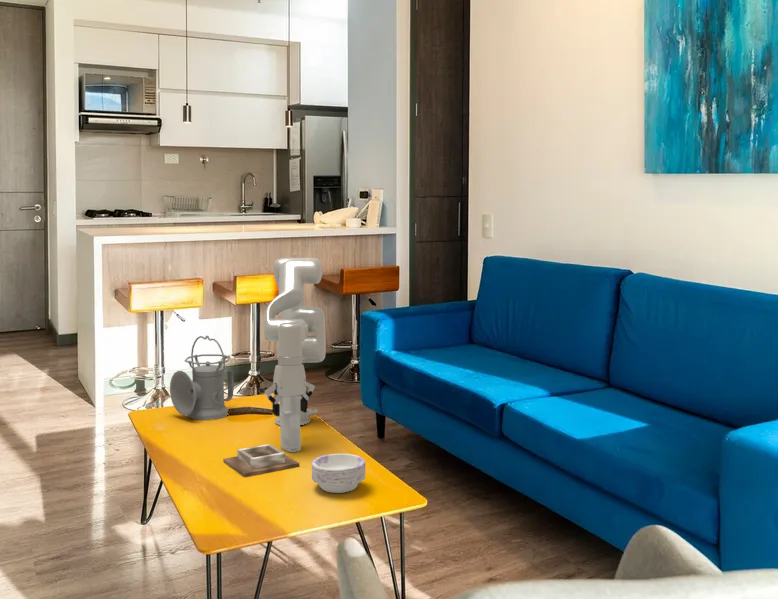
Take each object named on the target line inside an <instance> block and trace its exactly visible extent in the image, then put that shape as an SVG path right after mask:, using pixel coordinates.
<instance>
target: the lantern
mask: <svg viewBox="0 0 778 599" xmlns="http://www.w3.org/2000/svg"><path fill="white" fill-rule="evenodd" d="M199 339H203V340H208V341H214V342H215V343H216V344H217V346H218V348H219V350H220V353H221V354H220V353H215V354H213V353H211V354H210V353H209V354H208V353H207V354H204V353H202V354H195V355H194V348H195V346H196V343H197V341H198V340H199ZM199 357H222V360H218V361H214V362H210V360H209V361H208V360H207V361H206V362H200V361H199V359H198V358H199ZM189 359H191V360H189ZM230 359H231V356H228V355H226V354H224V352H223V348H222V346H221V344H220V343H219V342H218V340H217V339H216V338H210V336H209V335H205V336H202V335H200V336H197V337H196V338H195V339H194V341H193V343H192V346H191V354H190V356H187V357H186V358H184V362H185V363H187V364H189V367H190V368H191V370H192V371H191V372H192V374H191V375H192V376H191V377H192V379H191V377H190V376H189V374H188V373H186V372H185V371H183V370H177V371H176V372H174V373H173V374H172V376H171V379H170V381H169V382H170V383H169V393H170V394H169V396H170V399H171V403H172V404H173V407H174V409H175V410H176V412H177V413H178V414H180V415H182V416H187V417H188V418H189V419H192V420H197V419H198V420H199V421H211V420H210V419H214V420H220V419H224V418H227V417H228V416H227V411H229V408H228V407H227V406H226V405H225V403H226V402H230V401H231V400H232V399H233V396H234V392H235V391H234V388H235V385H234V384H235V383H234V375H233V373H232V371H230V370H228V369H226V363H228V362H229V361H230ZM194 360H195V361H194ZM217 364H218V365H217ZM195 365H197V366H195ZM225 373H227V397H226V398H225V388H224V386H225V384H224V383H225V380H224V379H225ZM226 416H227V417H226ZM223 417H224V418H223ZM219 418H220V419H219Z"/></svg>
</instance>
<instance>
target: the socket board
mask: <svg viewBox="0 0 778 599" xmlns="http://www.w3.org/2000/svg"><path fill="white" fill-rule="evenodd" d="M236 452H237V456H232V457H225V458H223V461H222V462H223V463H224V462H225V463H224V464H225V465H227V466H228V467H230V468H231V467H232V468H231V469H233V470H234V471H235V470H236V472H237V473H238V474H239V475H241V476H242V477H244V478H247V477H253V476H257V475H256V474H258V475H261V474H266V473H267V474H268V473H272V472H277V471H282V470H287V469H293V468H298V467H300V462H298V461H297V460H295V459H294V458H292V457H290V456H288V455H287V454H286V453H285V452H284V451H282V450H281V449H279V448H277V447H276V446H274V445H272V444H270V443H269V444H262V445H261V444H260V445H256V446H251V447H244V448H239V449H238V448H237V450H236ZM252 475H253V476H252Z"/></svg>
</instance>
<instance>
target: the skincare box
mask: <svg viewBox="0 0 778 599" xmlns="http://www.w3.org/2000/svg"><path fill="white" fill-rule="evenodd" d="M279 417H280V425H279V426H280V448H281V449H282V450H284V451H286V452H289V453H291V452H292V453H297V452H300V450H301V451H302V443H301V442H302V439H301V438H302V436H301V426H300V415H299V414H297V413H294V412H291V411H287V412H282V413H280V416H279ZM296 451H297V452H296Z"/></svg>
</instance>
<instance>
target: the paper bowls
mask: <svg viewBox="0 0 778 599" xmlns="http://www.w3.org/2000/svg"><path fill="white" fill-rule="evenodd" d="M366 463H367V462H366V459H365V458H363V457H361V456H359V455H357V454H351V453H330V454H324V455H320V456H318V457H316V458H314V459H313V460H312V462H311V479H312V481H313V482H314V483H317V484H318V486H319V488H320V489H322V490H323V491H325V492H327V493H331V494H344V493H345V492H346V493H349V491H350V492H352V491H354V490H355V489H357V487H358V485H359V483H360V482H363V481H364V480H365V478H366Z"/></svg>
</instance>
